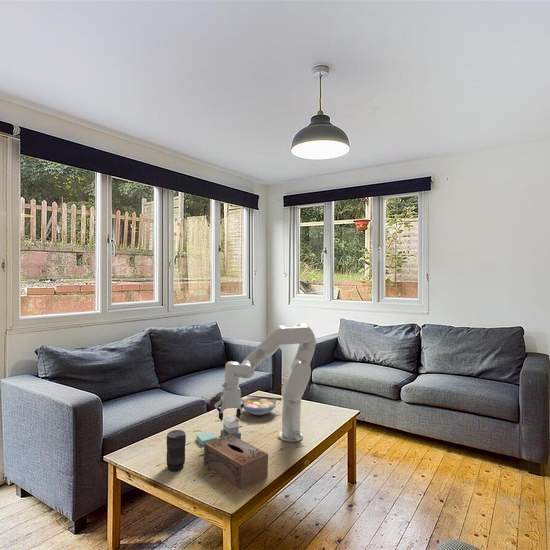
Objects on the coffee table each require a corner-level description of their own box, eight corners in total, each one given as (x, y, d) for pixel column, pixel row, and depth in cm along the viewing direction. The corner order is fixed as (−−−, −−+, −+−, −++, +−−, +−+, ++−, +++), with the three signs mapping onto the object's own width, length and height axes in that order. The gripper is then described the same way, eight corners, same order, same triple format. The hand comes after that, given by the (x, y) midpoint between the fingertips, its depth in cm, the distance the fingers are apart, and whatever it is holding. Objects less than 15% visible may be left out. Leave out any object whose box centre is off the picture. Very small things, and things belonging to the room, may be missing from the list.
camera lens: (162, 467, 168) (163, 433, 168) (178, 461, 174) (179, 428, 174) (171, 474, 162) (172, 439, 162) (188, 468, 168) (189, 433, 168)
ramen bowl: (231, 417, 227) (232, 403, 227) (246, 404, 249) (246, 391, 249) (272, 423, 220) (272, 409, 220) (283, 409, 242) (283, 396, 242)
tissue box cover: (267, 477, 163) (268, 453, 163) (241, 490, 153) (241, 465, 153) (229, 455, 181) (230, 434, 181) (203, 465, 171) (204, 443, 171)
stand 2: (240, 437, 200) (240, 433, 200) (226, 440, 196) (226, 435, 196) (234, 432, 207) (234, 427, 206) (220, 434, 203) (220, 430, 202)
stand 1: (217, 442, 193) (217, 437, 193) (201, 446, 189) (201, 440, 189) (211, 436, 200) (211, 431, 200) (196, 439, 196) (196, 434, 196)
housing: (238, 433, 199) (238, 421, 199) (228, 435, 197) (228, 422, 197) (232, 428, 205) (233, 416, 205) (223, 430, 203) (223, 418, 203)
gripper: (218, 389, 193) (216, 423, 193) (249, 386, 202) (247, 418, 202) (213, 385, 200) (211, 418, 200) (243, 382, 208) (241, 413, 208)
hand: (229, 418), depth 201 cm, fingers open, 9 cm apart
